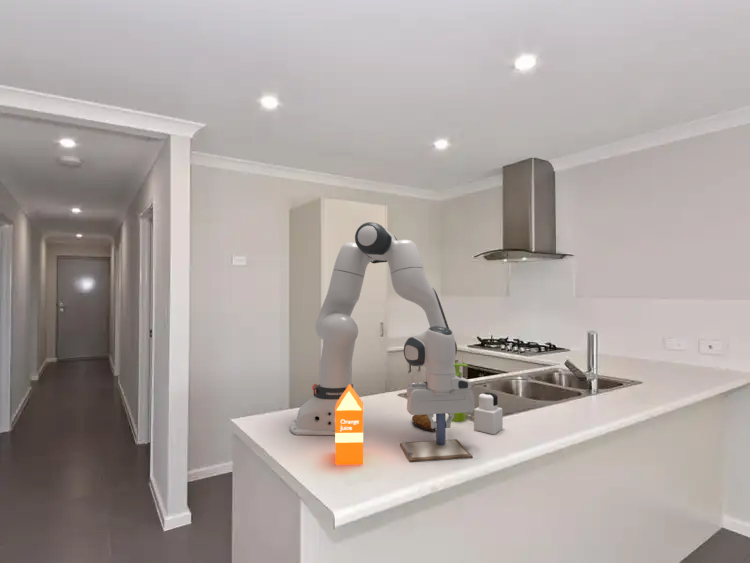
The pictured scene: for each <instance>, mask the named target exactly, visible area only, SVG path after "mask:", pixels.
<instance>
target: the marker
mask: <svg viewBox="0 0 750 563" xmlns="http://www.w3.org/2000/svg"><path fill="white" fill-rule="evenodd" d="M435 421H436V422H437V429H436V430H435V441H436V444H438V445H444V444H445V440H446V428H445V421H446V413H445V414H435Z"/></svg>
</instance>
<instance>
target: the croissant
mask: <svg viewBox="0 0 750 563" xmlns="http://www.w3.org/2000/svg"><path fill="white" fill-rule="evenodd" d="M411 420H412V422H413V424H415V426H417V427H418V428H421V429H423V430H425V431H428V432H429V431H430V432H436V429H432V428H431V421H430V420H429V418H428V416H427V414H424V415H412V418H411Z"/></svg>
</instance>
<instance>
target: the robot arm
mask: <svg viewBox="0 0 750 563" xmlns="http://www.w3.org/2000/svg"><path fill="white" fill-rule="evenodd" d="M422 261H423V260H422V257H421V254H420V250H419V249H418V246H417V244H416V243H415V242H414V241H412V240H410V239H405V238H404V239H399V240H398V239H397V237H396V236H395V235H394V234H393V233H392V232H391V231H390V230H389V229H387V228H386V227H384V226H382V225H381V224H379V223H377V222H373V221H372V222H365V223H362V224H361V225H360V226H359V227H358V228H357V229H356V232H355V235H354V241H350V242H345V243H344V244H343V245H342V246H341V247H340V249H339V252H338V254H337V256H336V259H335V262H334V265H333V270H332V274H331V278H330V282H329V286H328V289H327V294H326V296H325V298H324V300H323V303H322V306H321V308H320V311H319V314H318V317H317V319H316V321H315V331H316V334H317V336H318V337H319V338H320V339H321V340H322V349H321V350H322V351H321V357H320V359H319V384H316V383H314V384H313V385H312V386H311V388H312V391H313V396H312V397H311V398H310V399H308V401H306V402H305V403H303V404H302V405H301V406H300V408H299V409H298V411H297V415H296V419H294V420H293V421H291V423H290V426H289V430H290V432H291V433H292V434H293V435H297V436H298V435H299V436H301V435H305V436H307V435H309V436H315V435H316V436H335V408H336V403H337V401H338V400H339V399H340V397H341V396H342V394H343V393H344V391H345V390H346V388H347V387H348V385H349V384H350V385H351V386H352V388H353V389H354V384H353V382H352V380H353V375H352V374H353V373H352V372H353V356H354V350H355V345H356V340H357V338H358V334H359V327H358V325H357V323H356V321H355V319H353V318H352V317H351V315H352V313H353V311H354V308H355V306H356V305H357V303H358V302H359V299H360V296H361V291H362V287H363V283H364V278H365V274H366V270H367V267H368V266H369V264H371V263H372V264H380V263H388V266H389V272H390V279H391V284H392V287H393V289H394V292H395V293H396V294H397V295H398V296H399V297H401V298H402V299H405V300H407V301H409V302H411V303H413V304H416V305H417V306H418V307H420V308H421V309H422V310H423V311H424V313H425V315H426V318H427V321H428V323H429V327H428V328H427V329H426V331H424V332H423V333H420V334H416V335H414V336H411V337H409V338H407V340H406V341H405V342H404V346H403V355H404V358H405V361H406V362H407V363H408V364H409V365H410V366H412V367H417V368H418V367H425V381H422V382H421V381H420V382H411V383H410V384H408V386H407V387H406V396H407V401H406V410H407V413H409V414H410V416H413V415H424V414H427V416H428V418H429V420H430V421H431V428H432V429H437V422H436V420H434V419H433V418H434V416H435V415H436V414H445V415H446V414H447V415H448V417H447V419H446V420H445V429H451V425H452V424H451V423H452V422H453V421H452V420H453V418H454V413H465V412H466V413H473V412H474V409H475V404H476V403H475V396H474V392H473V390H472V382H471V381H470V380H469V379H467V378H465V377H463V376H462V377H460V376H456V371H455V366H454V364H455V361H456V356H457V352H458V345H457V341H456V340H455V335H454V332H453V330H452V329H450V327H449V324H448V321H447V319H446V318H447V317H446V316H445V312H444V310H443V306H442V304H441V301H440V299H439V295H438V293H437V291H436V289H434V288H433V287H432V285H431V284H430V282H429V280H428V278H427V276H426V273H425V269H424V265H423V264H424V263H423V262H422Z"/></svg>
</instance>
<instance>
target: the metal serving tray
mask: <svg viewBox="0 0 750 563" xmlns="http://www.w3.org/2000/svg"><path fill="white" fill-rule="evenodd" d="M399 446H400V448H401V449H402V451H403V452H404V454H405V456H406V458H407V459H408V461H409V463H414V462H415V463H416V462H432V461H446V460H447V461H449V460H460V459H473V457H474V456H473V454H472V453H471V452H470V451H469V450H468V449H467V448H466V447H465V446H464V445H463V444H462V443H461V442H460V441H459V440H458V439H456V438H455V439H445V444H444V445H438V444H436V440H424V441H410V442H409V441H405V442H403V441H402V442H399Z"/></svg>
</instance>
